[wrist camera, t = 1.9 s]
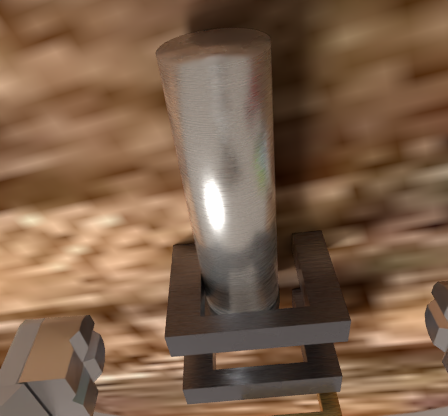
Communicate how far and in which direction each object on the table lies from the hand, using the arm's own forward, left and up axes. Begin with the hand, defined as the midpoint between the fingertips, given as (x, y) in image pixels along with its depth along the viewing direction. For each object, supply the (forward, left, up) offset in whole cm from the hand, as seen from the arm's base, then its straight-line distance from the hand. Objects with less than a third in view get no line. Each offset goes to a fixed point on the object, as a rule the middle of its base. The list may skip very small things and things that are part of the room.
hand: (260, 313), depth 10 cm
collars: (+17, 0, -15) cm, 22 cm away
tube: (+6, 0, -15) cm, 16 cm away
